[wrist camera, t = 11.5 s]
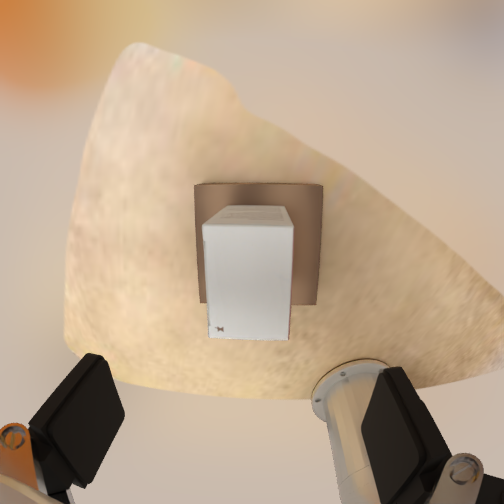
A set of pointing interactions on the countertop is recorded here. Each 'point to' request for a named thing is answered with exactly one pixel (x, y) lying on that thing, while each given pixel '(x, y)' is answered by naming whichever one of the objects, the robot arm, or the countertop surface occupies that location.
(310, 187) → the walnut block
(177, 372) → the countertop surface
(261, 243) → the small box
